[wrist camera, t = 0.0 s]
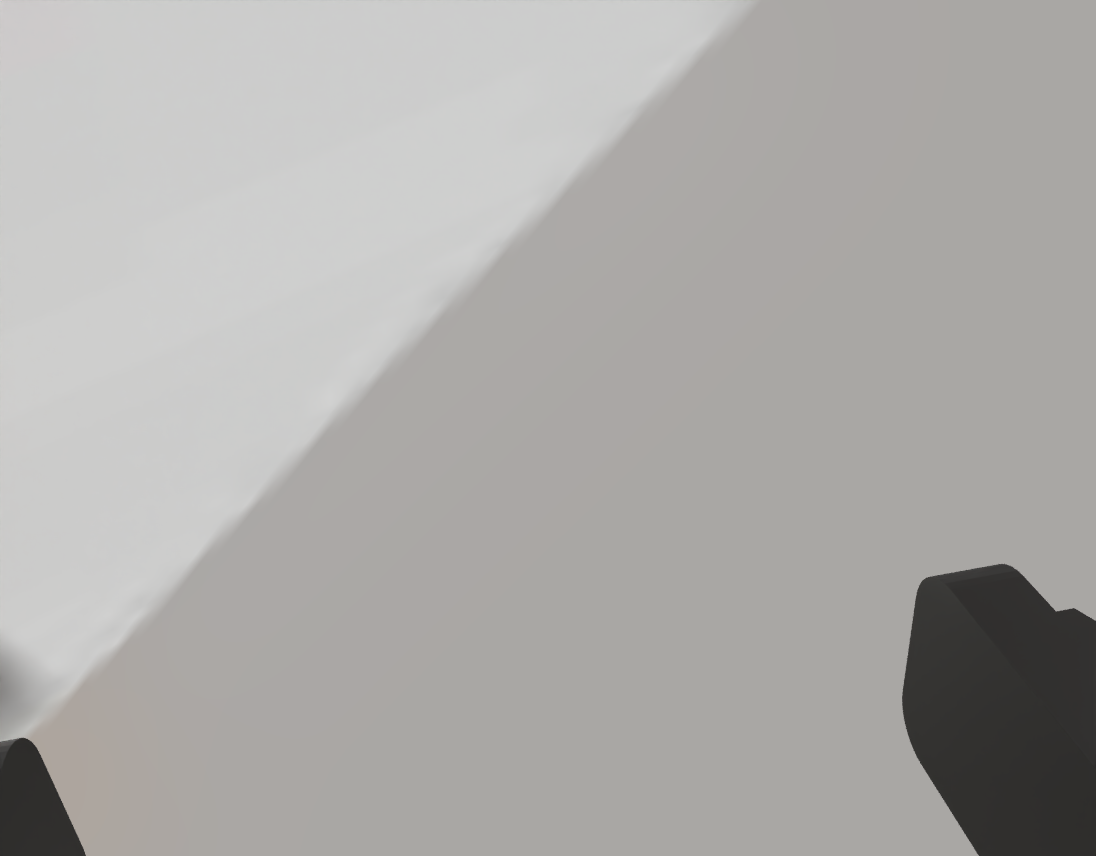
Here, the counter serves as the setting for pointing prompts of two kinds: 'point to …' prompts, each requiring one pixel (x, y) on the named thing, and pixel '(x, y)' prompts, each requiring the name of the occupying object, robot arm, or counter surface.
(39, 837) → the robot arm
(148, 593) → the counter surface
